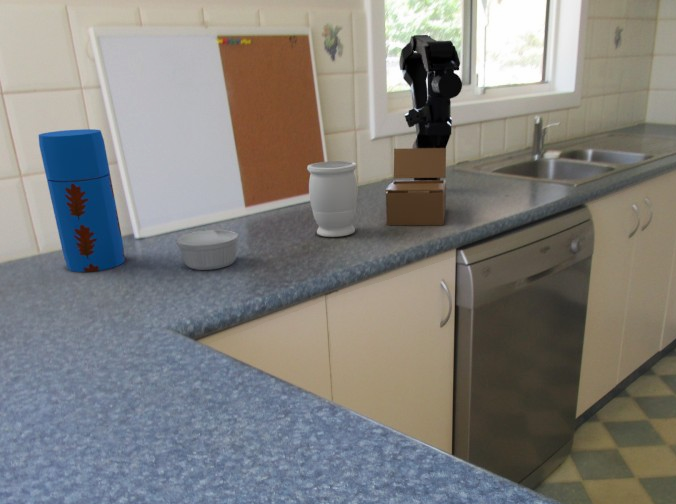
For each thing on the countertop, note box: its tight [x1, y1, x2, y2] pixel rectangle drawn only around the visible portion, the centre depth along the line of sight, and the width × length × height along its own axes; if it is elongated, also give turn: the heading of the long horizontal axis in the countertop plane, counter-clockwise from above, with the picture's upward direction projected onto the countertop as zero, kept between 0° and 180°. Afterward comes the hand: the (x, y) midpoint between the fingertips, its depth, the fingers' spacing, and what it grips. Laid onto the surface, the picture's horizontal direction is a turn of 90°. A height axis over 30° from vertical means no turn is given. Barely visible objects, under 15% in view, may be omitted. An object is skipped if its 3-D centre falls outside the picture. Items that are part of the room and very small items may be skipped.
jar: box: [307, 160, 359, 238], centre depth 144 cm, size 11×10×15 cm
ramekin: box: [176, 229, 239, 271], centre depth 127 cm, size 11×11×5 cm
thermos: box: [38, 128, 126, 273], centre depth 125 cm, size 11×11×25 cm
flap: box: [393, 147, 447, 179], centre depth 162 cm, size 7×13×1 cm
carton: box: [385, 179, 447, 226], centre depth 156 cm, size 15×13×8 cm
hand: (439, 159), depth 168 cm, fingers closed
